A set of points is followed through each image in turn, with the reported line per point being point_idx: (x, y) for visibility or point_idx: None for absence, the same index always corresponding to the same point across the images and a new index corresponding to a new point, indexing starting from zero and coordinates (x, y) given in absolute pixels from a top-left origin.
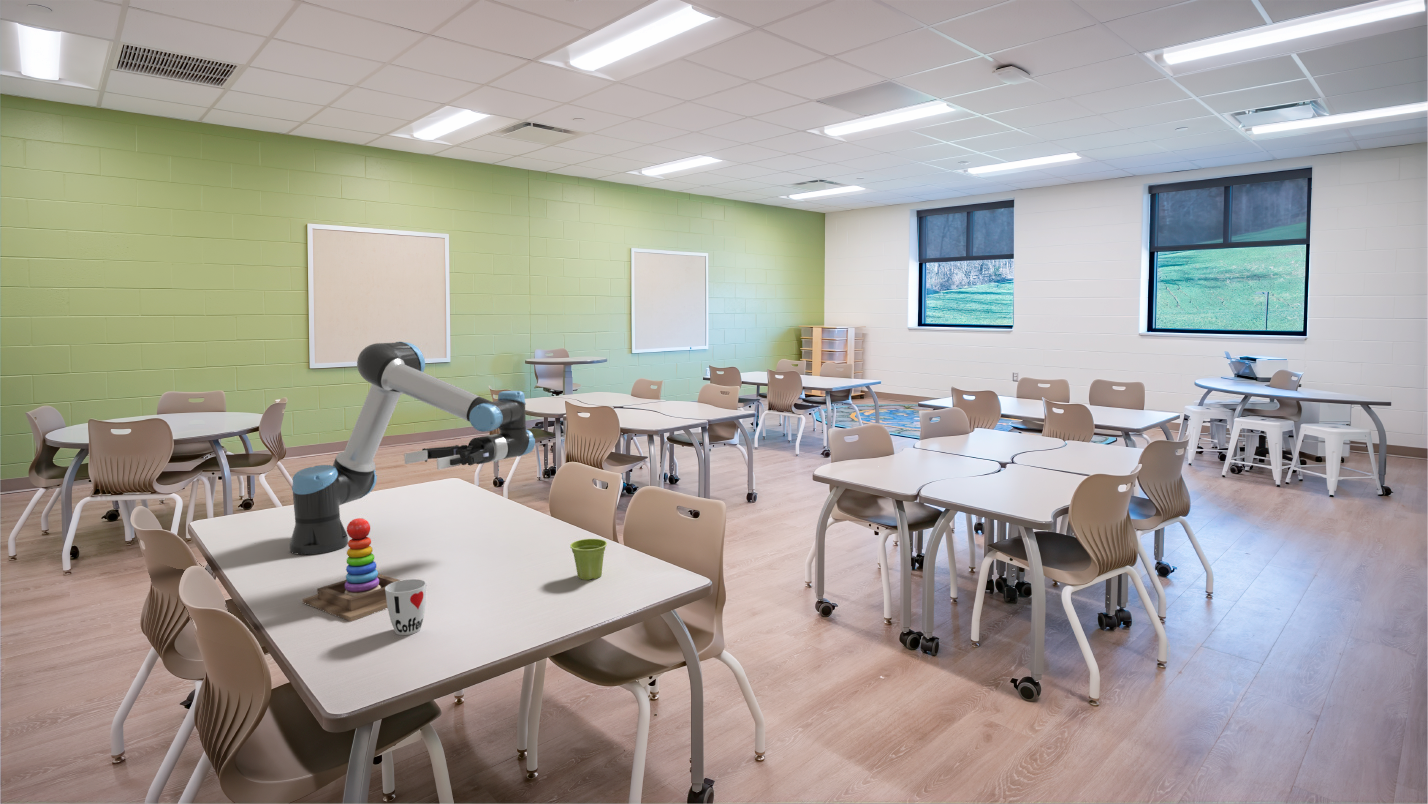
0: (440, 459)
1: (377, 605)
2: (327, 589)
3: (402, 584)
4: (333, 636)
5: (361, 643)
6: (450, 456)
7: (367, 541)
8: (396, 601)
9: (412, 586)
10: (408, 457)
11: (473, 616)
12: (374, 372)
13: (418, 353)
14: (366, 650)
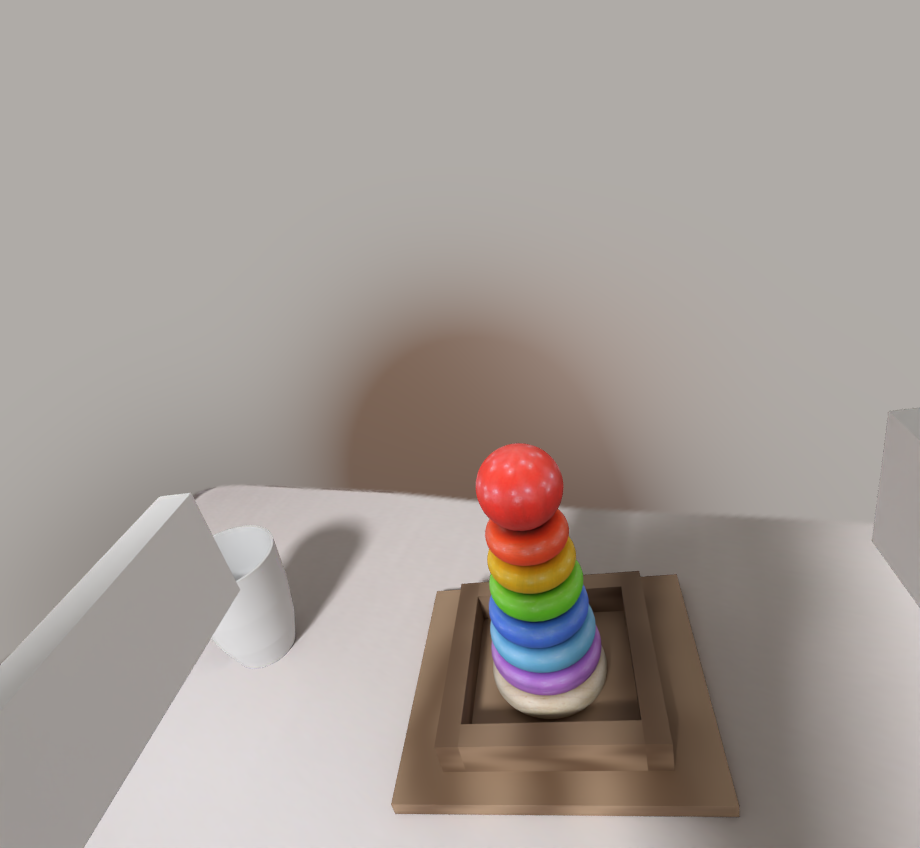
0: (147, 521)
1: (437, 658)
2: (606, 583)
3: (258, 576)
4: (406, 554)
5: (325, 569)
6: (36, 643)
7: (486, 534)
8: (232, 549)
9: (238, 598)
10: (905, 490)
11: (123, 789)
12: None
13: None
14: (294, 563)
